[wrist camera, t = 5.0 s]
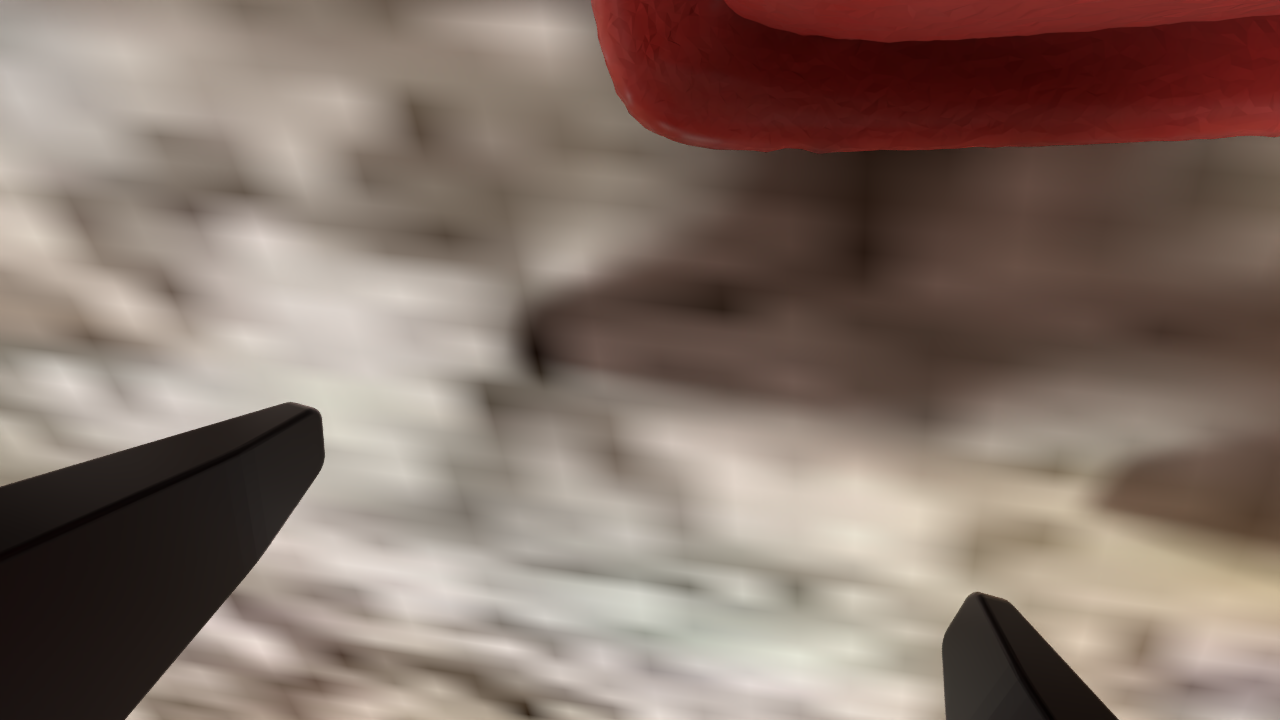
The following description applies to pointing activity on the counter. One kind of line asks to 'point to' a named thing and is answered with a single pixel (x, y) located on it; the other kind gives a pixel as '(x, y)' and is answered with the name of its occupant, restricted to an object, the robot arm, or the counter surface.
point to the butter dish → (943, 71)
